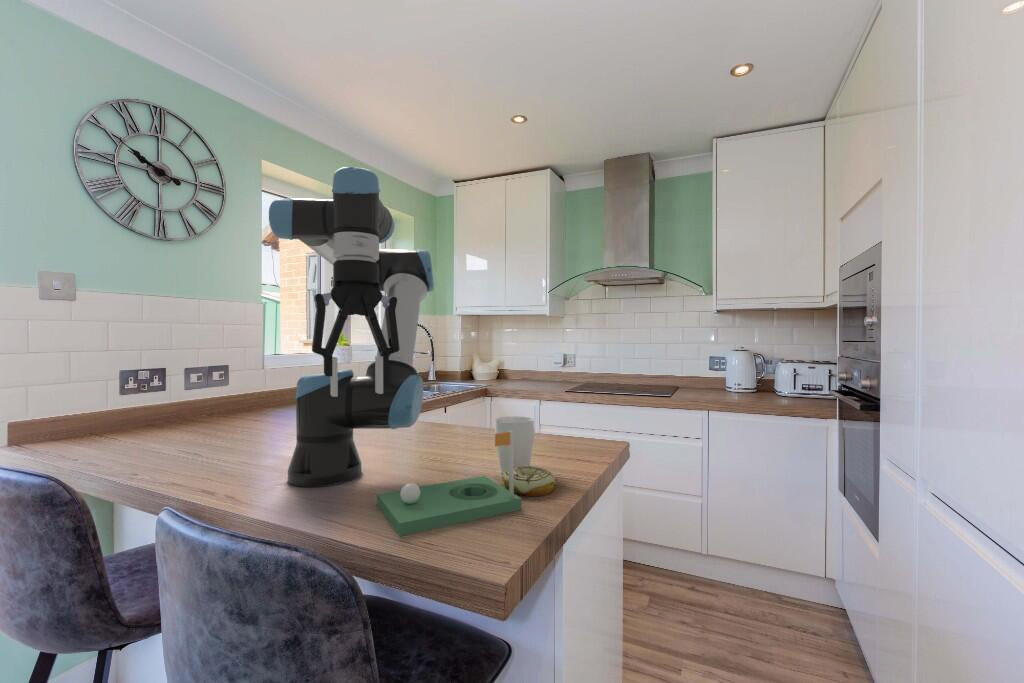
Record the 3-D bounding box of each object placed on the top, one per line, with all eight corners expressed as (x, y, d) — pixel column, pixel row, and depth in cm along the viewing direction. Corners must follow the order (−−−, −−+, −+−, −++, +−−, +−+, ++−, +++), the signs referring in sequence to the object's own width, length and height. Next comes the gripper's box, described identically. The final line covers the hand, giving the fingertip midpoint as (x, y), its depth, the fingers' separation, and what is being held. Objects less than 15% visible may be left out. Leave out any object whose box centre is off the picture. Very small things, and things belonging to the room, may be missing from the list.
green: (377, 504, 83) (376, 428, 83) (484, 485, 94) (484, 418, 94) (399, 536, 70) (399, 446, 70) (521, 509, 81) (521, 431, 81)
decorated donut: (525, 503, 85) (524, 483, 85) (492, 487, 93) (492, 469, 93) (565, 491, 91) (565, 472, 91) (531, 478, 100) (531, 460, 100)
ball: (398, 501, 79) (397, 482, 79) (416, 498, 81) (416, 479, 81) (403, 508, 76) (403, 488, 76) (422, 504, 78) (422, 484, 78)
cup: (518, 481, 97) (518, 425, 97) (486, 473, 102) (486, 420, 102) (541, 471, 104) (541, 419, 104) (510, 464, 110) (510, 414, 109)
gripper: (294, 252, 70) (295, 401, 70) (418, 262, 80) (419, 393, 80) (291, 260, 77) (292, 395, 77) (406, 268, 86) (407, 388, 86)
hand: (357, 394), depth 78 cm, fingers open, 7 cm apart
